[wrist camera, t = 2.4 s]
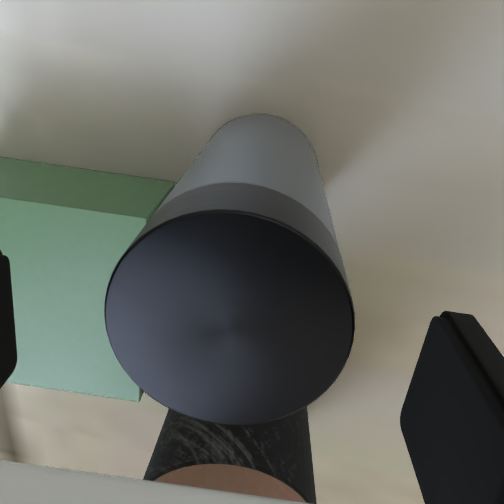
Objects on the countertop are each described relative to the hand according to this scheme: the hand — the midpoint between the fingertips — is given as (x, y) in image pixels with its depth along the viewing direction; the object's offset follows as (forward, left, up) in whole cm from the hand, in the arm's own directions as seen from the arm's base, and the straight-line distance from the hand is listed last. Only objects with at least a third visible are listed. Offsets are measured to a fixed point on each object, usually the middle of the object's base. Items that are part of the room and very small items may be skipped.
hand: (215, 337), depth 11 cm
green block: (+8, -6, -13) cm, 16 cm away
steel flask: (0, 0, -13) cm, 13 cm away
